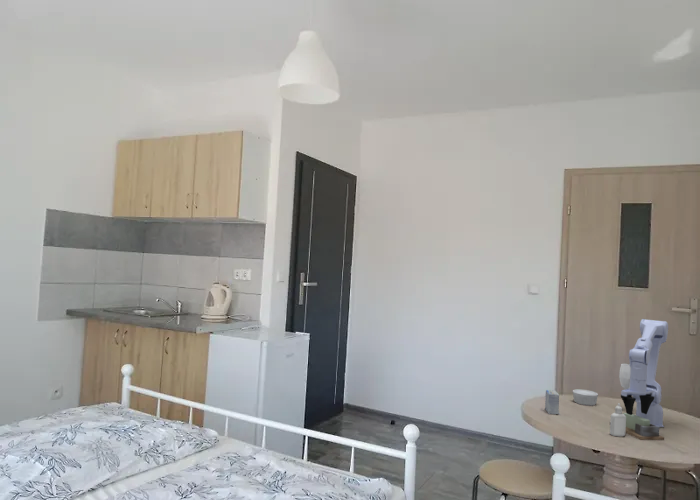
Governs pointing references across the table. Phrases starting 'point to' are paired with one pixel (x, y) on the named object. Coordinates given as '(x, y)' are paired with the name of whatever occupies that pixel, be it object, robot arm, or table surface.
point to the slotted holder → (645, 432)
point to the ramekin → (585, 397)
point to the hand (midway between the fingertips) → (636, 413)
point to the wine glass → (625, 376)
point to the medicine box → (552, 402)
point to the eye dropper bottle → (618, 422)
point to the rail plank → (635, 421)
